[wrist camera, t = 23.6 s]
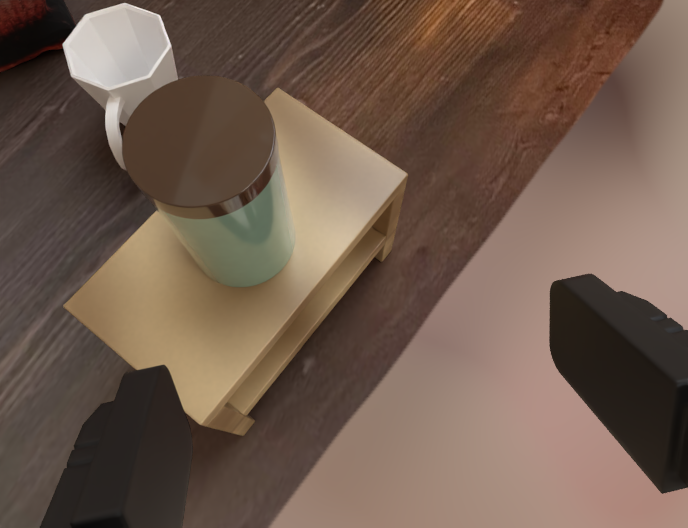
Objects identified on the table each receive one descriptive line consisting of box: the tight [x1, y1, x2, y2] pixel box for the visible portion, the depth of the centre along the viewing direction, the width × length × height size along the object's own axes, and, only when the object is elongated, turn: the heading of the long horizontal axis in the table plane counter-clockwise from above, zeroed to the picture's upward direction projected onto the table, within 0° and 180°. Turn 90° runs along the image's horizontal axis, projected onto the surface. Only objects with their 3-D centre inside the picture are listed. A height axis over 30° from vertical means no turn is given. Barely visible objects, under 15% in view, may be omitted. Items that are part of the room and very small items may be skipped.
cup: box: [62, 3, 178, 171], centre depth 38 cm, size 7×10×8 cm
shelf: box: [63, 88, 408, 436], centre depth 32 cm, size 16×9×11 cm, turn 142°
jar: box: [122, 75, 296, 287], centre depth 23 cm, size 5×5×9 cm
